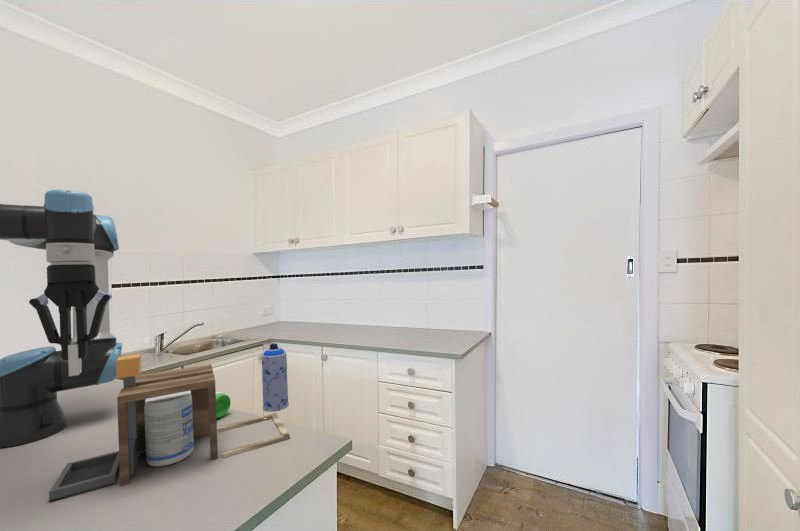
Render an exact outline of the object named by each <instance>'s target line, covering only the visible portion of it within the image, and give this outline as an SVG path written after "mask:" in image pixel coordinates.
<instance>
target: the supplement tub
mask: <svg viewBox="0 0 800 531" xmlns="http://www.w3.org/2000/svg"><path fill="white" fill-rule="evenodd" d="M144 415H145V441H146V451H145V460H146V463H147V465H149V466H151V467H164V466H168V465H173V464H176V463H178V462H181V461H183V460H185V459H186V458H188V457H189V456H190V455H191V454H192V453H193V451H194V448H195V446H194V439H193V414H192V396H191V391H185V392H180V393H174V394H169V395H164V396H158V397H153V398H148V399H145V406H144Z"/></svg>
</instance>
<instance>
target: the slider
mask: <svg viewBox="0 0 800 531" xmlns="http://www.w3.org/2000/svg"><path fill="white" fill-rule="evenodd" d="M141 356H142V354H141V353H137V354H129V355H123V356H122V355H121V357H118V359H117V360H116V374H117V378H116V379H117V380H118V379H122V381H123V383H122V384H123V388H129V387H135V386H136V376H139V375H141V372H142V357H141ZM128 428H129V456H130V476H133V475H135V471H136V467H137V464H138V459H139V456H140V453H141V452H140V436H139V427H137V402H136V401H132V402H128Z"/></svg>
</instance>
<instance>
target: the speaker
mask: <svg viewBox="0 0 800 531" xmlns="http://www.w3.org/2000/svg"><path fill="white" fill-rule="evenodd" d="M230 407H231V398H230V396H229V395H227V394H226V393H224V392H220V391H216V416H217V419H218V418H222V417H223V416H225V415H226V414H228V411H229V410H230Z"/></svg>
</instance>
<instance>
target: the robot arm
mask: <svg viewBox="0 0 800 531" xmlns="http://www.w3.org/2000/svg"><path fill="white" fill-rule="evenodd" d="M93 204H94V203H93V197H92V196H91V195H90V194H89V193H87V192H83V191H78V190H69V189H49V190H48V191H46V192H45V194H44V203H43V205H41V206H40V205H26V204H25V205H21V204H7V203H6V204H5V203H4V204H3V203H0V241H1V240H2V241H8V242H10V243H11V244H14V245H16V246H20V247H26V248H31V249H37V250H44V251H45V253H46V254H45V255H46V262H47V263H48V264H49V263H50V265H48V266H47V267H46V279H47V280H46V283H47V284H46V286H45V289H44V291H43V294H41V295H39V296H37V297H35V298H30V299H29V301H28V303H29V304H30V305H31V307H33V308H34V310H36V313H37V315H38V318H39V321H40V323H41V326H42V328H43V331H44V334H45V336H46V339H47V341H48V343H50V344H55V345H60V347H61V348H60V349H61V350H57V348H56V347H55V346H52V345H50V346H42V347H36V348H32V349H28V350H24V351H19V352H17V353H13V354H9V355H6V356H4V357H2V358H0V449H1V448H2V449H3V448H9V447H15V446H19V445H25V444H29V443H31V442H35V441H39V440H41V439H44V438H47V437H50V436H53V435H55V434H57V433H58V432H60V431H61V430H63V429H65V428H66V426H67V417H66V415H65V413H64V410H63V408H62V407H61V404H60V403H59V401H58V392H63V391H70V390H75V389H79V388H80V389H81V388H85V387H91V386H100V385H101V384H106V383H111V382H113V381H115V380H116V379H117V374H116V360H117V359H118V357H121V356H122V349H123V343H122V342H119V341H118V342H117V336H115V335H113V334H112V333H111V326H110V324H111V322H110V300H111V299H112V297H113V296H112V294H110V290H109V289H110V288H109V286H110V285H109V284H110V283H109V260H110V259H112V258H113V257H114V256H115V254H114V253H115V252H117V251H119V250H120V246H119V241H118V234H117V230H116V225H115V222H114V219H113V218H112V217H111V216H108V215H101V214H96V213H95V214H94V208H95V207H94V205H93ZM49 300H50V301H51V302H52V303H53V304H54V305H56V307H58V313H59V332H58V329H57V326H56V324H55V321H54V317H53V316H52V315H53V314H52V313H51V310H50V307H49V306H48V304H49ZM71 311H72V312H71Z"/></svg>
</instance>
